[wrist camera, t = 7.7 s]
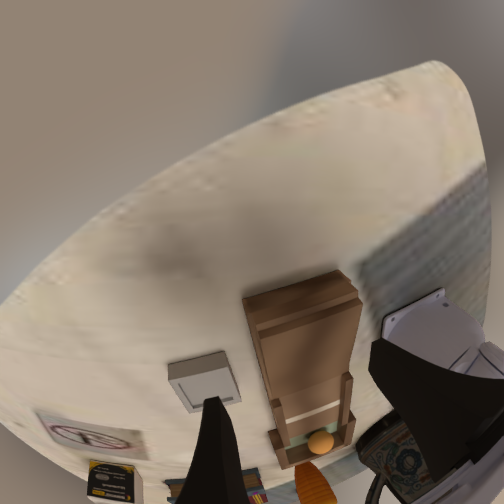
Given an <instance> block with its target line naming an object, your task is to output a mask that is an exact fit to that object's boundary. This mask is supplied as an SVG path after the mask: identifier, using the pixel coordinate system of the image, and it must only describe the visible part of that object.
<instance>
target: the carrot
mask: <svg viewBox="0 0 504 504" xmlns="http://www.w3.org/2000/svg"><path fill="white" fill-rule="evenodd" d="M294 476H295V484H296V490H297V494H298V497H299V500H300V503H301V504H337V499H336V496H335V495H334V493H333V491H332V489H331V487H330V485H329V484H328V482H327V480H326V479H325V477H324V476H323V475H322V473H321V472H320V471H319V470H318V468H317V467H316V466H315V465H314V464H312V463H311V462H310V461H308V462H305V463H302V464H299V465H296V466H295V475H294Z"/></svg>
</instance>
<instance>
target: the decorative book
mask: <svg viewBox="0 0 504 504" xmlns="http://www.w3.org/2000/svg"><path fill="white" fill-rule="evenodd" d="M242 475H243V480H244V484H245V488H246V491H247V494H248V498H249V501H250V504H260V503H265V502H268V500H267V497H266V493H265V490H264V487H263V485H262V482H261V479H260V478H261V477H260V474H259V471H258V468H254V469H249V470H245V471H242ZM185 480H186V479H177V480H165V482H166V483H165V482H164V483H165V484H167V485H168V486H169V487H170V490H171V497H167V501H168V502H170V503H172V504H174V503H175V501H176V499H177V497H178V495H179V493H180V491H181V489H182V487H183V484H184V482H185ZM169 493H170V492H169Z"/></svg>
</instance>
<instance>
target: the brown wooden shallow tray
mask: <svg viewBox="0 0 504 504" xmlns="http://www.w3.org/2000/svg"><path fill="white" fill-rule="evenodd" d="M242 302H243V306H244V309H245V313H246V317H247V321H248V325H249V328H250V332H251V336H252V340H253V343H254V347H255V351H256V355H257V358H258V362H259V366H260V369H261V373H262V376H263V380H264V384H265V387H266V391H267V394H268V398H269V401H270V405H271V408H272V412H273V415H274V419H275V422H276V426H277V429H275V430H272V431H268V433H269V436H270V439H271V442H272V445H273V448H274V450H275V453H276V456H277V458H278V461H279V464H280V466H281V469H282V470H284V469H287V468H290V467H293V466H296V465H299V464H302V463H305V462H308V461H311V460H313V459H316V458H319V457H321V456H324V455H326V454H329V453H331V452H334V451H336V450H338V449H341V448H343V447H345V446H348V445H350V444H351V441H352V437H353V433H354V428H355V423H356V418H355V417H354V415H353V413H352V412H351V410H350V403H351V395H352V386H353V377H352V375H351V374H350V373H349V362H350V358H351V354H352V350H353V346H354V342H355V338H356V334H357V329H358V325H359V320H360V316H361V311H362V306H363V303H362V302H361V300H360V299H359V298H358V290H357V289H356V288H355V287H354V286H353V285H351V280H350V279H349V278H347V277H346V276H345V275H344V274H343V273H342V272H341V271H339V270H337V271H333V272H330V273H327V274H324V275H321V276H318V277H315V278H312V279H309V280H305V281H302V282H299V283H296V284H293V285H289V286H286V287H283V288H279V289H276V290H273V291H269V292H266V293H263V294H259V295H256V296H252V297H249V298H245V299H242ZM318 431H327V432H329V433H330V434H331V435H332V436H333V438H334V444H333V447H332V448H331V450H329V451H328V452H326V453H324V454H316V453H313V452H312V451H311V450H310V449H309V447H308V440H309V438H310V436H311V435H312V434H314V433H315V432H318Z"/></svg>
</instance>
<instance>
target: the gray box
mask: <svg viewBox="0 0 504 504" xmlns="http://www.w3.org/2000/svg"><path fill="white" fill-rule="evenodd" d="M168 381H169V383H170V385H171V386H172V388H173V389H174V391H175V393H176V394H177V396H178V397H179V399H180V400H181V402H182V403H183V405H184V406H185V408H186V409H187V411H188V412H189V414H190V413H195V412H200V411H203V402H204V400H205V399H207V398H211V397H216V396H219V397H220V399H221V401H222V403H223V405H224V406H227V405H231V404H235V403H239V402H242V400H241V396H240V393H239V389H238V386H237V383H236V380H235V378H234V375H233V373H232V370H231V367H230V365H229V362H228V359H227V357H226V354H225V351H224V352H220V353H216V354H212V355H208V356H204V357H200V358H196V359H192V360H187V361H183V362H178V363H174V364H169V365H168Z"/></svg>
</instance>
